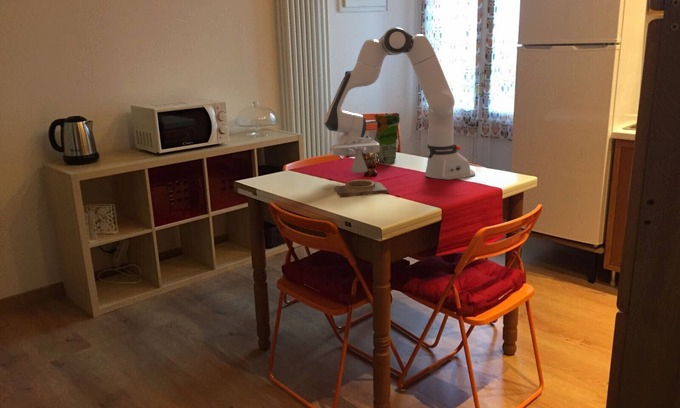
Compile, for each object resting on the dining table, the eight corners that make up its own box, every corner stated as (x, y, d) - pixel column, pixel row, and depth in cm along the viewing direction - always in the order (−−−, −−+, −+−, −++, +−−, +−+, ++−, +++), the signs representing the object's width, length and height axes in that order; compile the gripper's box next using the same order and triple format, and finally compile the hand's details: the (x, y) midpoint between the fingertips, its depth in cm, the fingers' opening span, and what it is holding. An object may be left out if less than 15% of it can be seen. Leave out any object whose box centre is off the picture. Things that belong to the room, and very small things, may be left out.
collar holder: (379, 185, 252) (379, 177, 251) (387, 193, 240) (387, 184, 239) (334, 189, 249) (333, 181, 248) (340, 197, 236) (339, 189, 235)
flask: (367, 173, 238) (366, 149, 235) (349, 173, 239) (349, 149, 236) (368, 169, 245) (368, 145, 242) (351, 169, 246) (350, 146, 243)
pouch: (401, 159, 298) (400, 111, 291) (394, 165, 288) (393, 114, 281) (380, 159, 302) (379, 110, 295) (373, 164, 292) (372, 114, 285)
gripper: (328, 140, 249) (334, 147, 236) (374, 137, 253) (383, 143, 240) (328, 155, 251) (335, 162, 238) (374, 151, 254) (383, 157, 241)
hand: (359, 152), depth 239 cm, fingers closed on flask, 3 cm apart
